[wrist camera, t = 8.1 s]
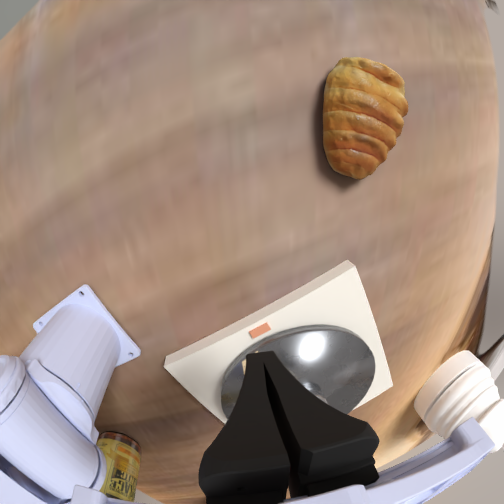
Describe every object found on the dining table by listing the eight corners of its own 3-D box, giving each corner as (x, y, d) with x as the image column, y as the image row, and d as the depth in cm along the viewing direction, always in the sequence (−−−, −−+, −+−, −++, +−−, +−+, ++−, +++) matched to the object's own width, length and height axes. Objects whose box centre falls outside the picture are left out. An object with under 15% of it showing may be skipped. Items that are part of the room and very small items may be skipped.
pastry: (374, 188, 21) (401, 194, 17) (300, 161, 19) (318, 161, 16) (396, 90, 18) (423, 81, 15) (327, 56, 17) (347, 39, 13)
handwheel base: (258, 442, 29) (260, 452, 27) (165, 356, 23) (163, 368, 21) (387, 378, 28) (393, 386, 26) (347, 259, 22) (356, 266, 20)
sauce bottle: (149, 453, 28) (141, 573, 9) (112, 451, 28) (95, 562, 9) (128, 428, 26) (108, 566, 7) (89, 426, 26) (59, 548, 7)
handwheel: (390, 373, 25) (407, 397, 21) (283, 444, 27) (290, 470, 23) (322, 289, 20) (343, 316, 17) (186, 391, 22) (184, 424, 18)
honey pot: (481, 339, 30) (548, 401, 13) (457, 393, 34) (506, 453, 17) (427, 367, 29) (499, 454, 12) (404, 421, 33) (452, 497, 16)
